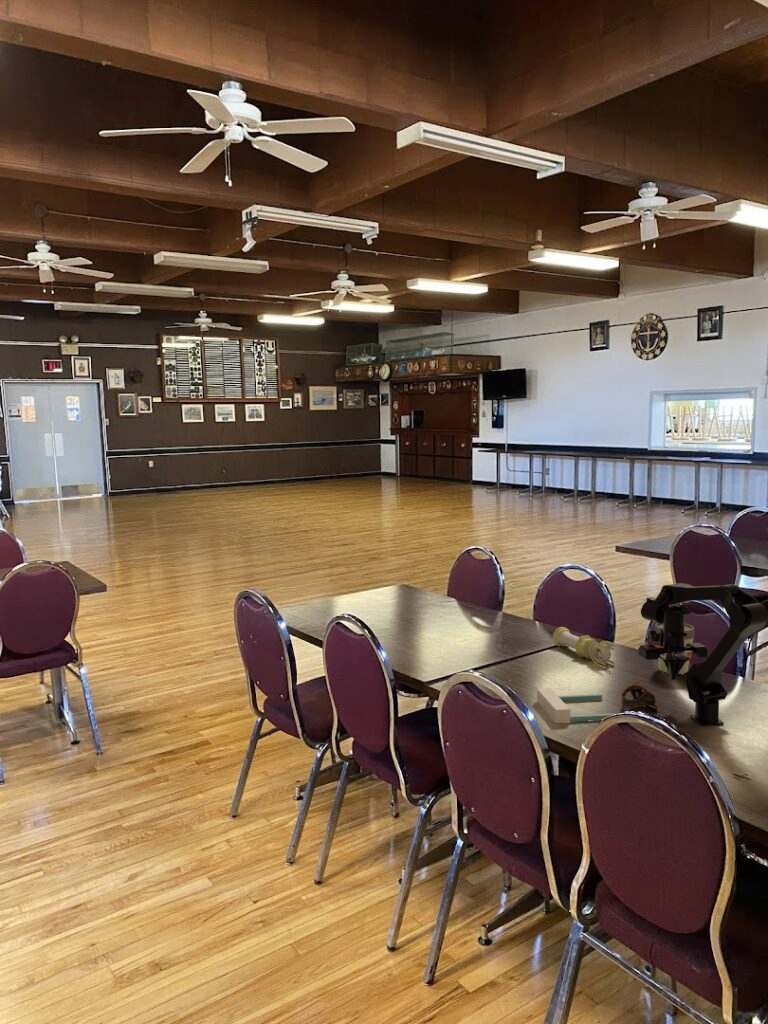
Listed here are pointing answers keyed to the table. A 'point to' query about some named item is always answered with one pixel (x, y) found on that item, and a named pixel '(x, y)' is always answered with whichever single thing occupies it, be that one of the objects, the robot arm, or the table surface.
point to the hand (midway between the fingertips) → (672, 679)
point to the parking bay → (565, 706)
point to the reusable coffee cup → (687, 639)
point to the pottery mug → (638, 697)
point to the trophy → (585, 646)
